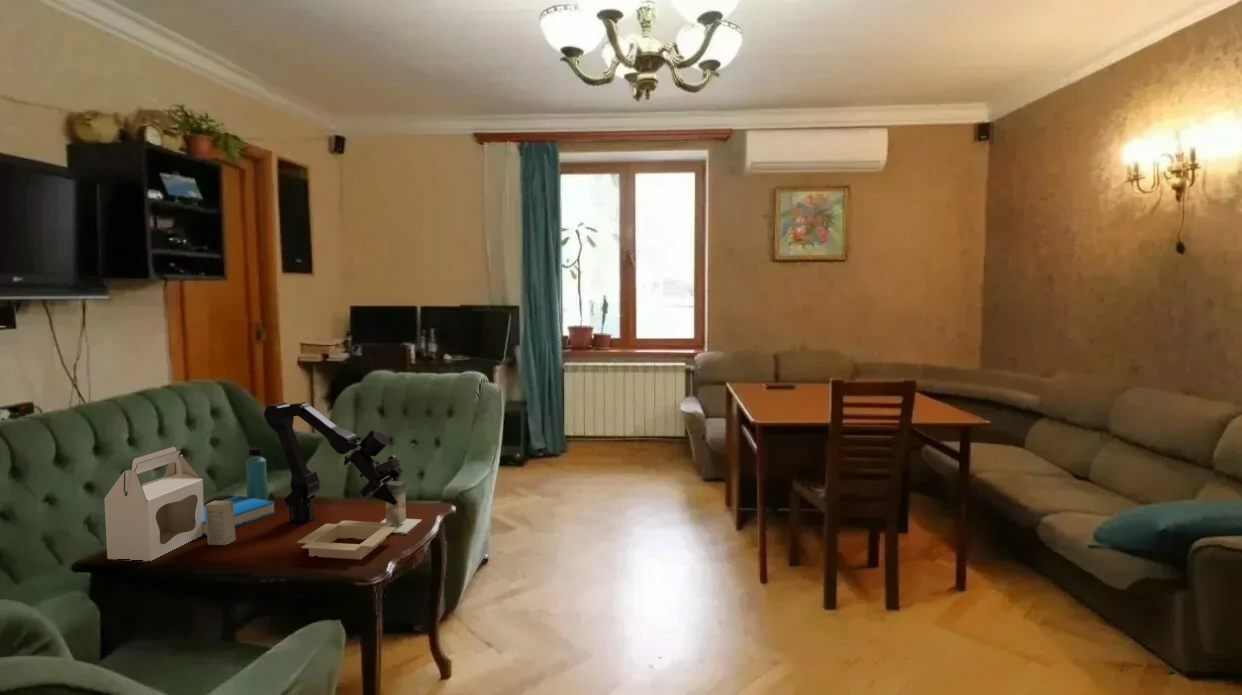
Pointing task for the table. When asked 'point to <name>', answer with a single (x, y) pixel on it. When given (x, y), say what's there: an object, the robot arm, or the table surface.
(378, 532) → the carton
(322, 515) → the table surface
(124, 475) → the gable box
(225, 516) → the skincare box
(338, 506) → the table surface
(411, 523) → the white square tile
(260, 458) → the beverage bottle
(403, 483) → the capped block
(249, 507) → the book
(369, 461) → the robot arm
